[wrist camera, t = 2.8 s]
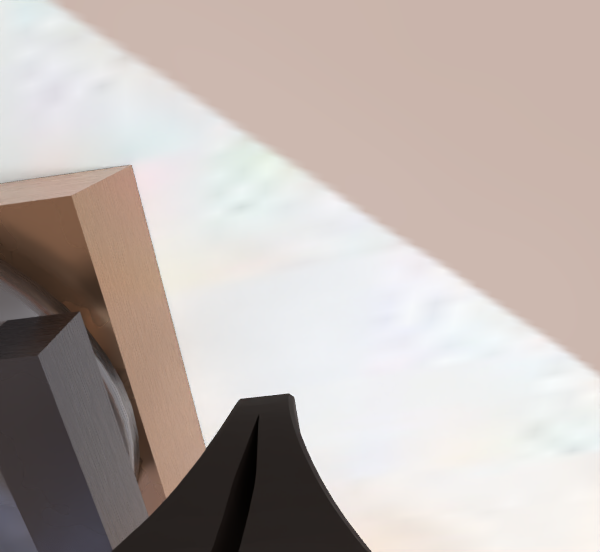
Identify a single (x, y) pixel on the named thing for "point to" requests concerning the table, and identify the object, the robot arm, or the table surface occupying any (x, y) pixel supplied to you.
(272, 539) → the robot arm
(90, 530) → the lid
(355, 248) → the table surface
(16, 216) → the cooker
